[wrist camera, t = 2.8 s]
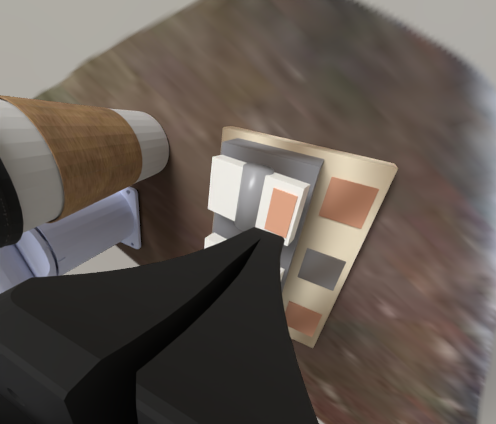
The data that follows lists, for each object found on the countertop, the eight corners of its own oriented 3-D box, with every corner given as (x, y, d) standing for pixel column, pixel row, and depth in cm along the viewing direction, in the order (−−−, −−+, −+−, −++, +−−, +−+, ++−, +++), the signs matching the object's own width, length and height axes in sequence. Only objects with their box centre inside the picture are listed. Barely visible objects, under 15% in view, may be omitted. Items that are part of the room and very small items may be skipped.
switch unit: (212, 288, 27) (191, 314, 23) (231, 125, 19) (205, 129, 15) (314, 335, 24) (308, 373, 20) (394, 163, 15) (406, 178, 12)
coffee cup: (192, 179, 22) (-24, 275, 9) (131, 190, 26) (-83, 270, 13) (161, 83, 20) (-193, 33, 7) (99, 110, 23) (-207, 111, 10)
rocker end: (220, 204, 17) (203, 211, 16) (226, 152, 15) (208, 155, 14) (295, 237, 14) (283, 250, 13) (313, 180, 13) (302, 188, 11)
